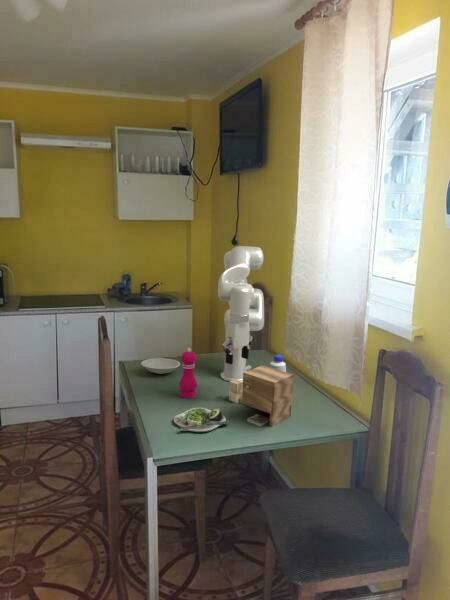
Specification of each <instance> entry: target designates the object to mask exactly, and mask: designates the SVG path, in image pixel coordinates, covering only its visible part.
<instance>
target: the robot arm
mask: <svg viewBox="0 0 450 600" xmlns="http://www.w3.org/2000/svg"><path fill="white" fill-rule="evenodd" d="M264 258H265V257H264V252H263V249H262V248H261V247H258V246H249V245H248V246H246V245H244V246H243V245H239V246H234V247H233V248H232V249H231V250H229V251H227V252H226V253H225V254H224V256H223V266H224V270H225V271H223V272H222V273H221V275H220V277H219V279H218V283H217V284H218V285H217V286H218V288H217V296H218V298H219V300H221V302H228V306H229V309H227V310H226V311H225V313H224V328H225V329H224V331H225V339H224V342H223V343H222V348H223V349H222V350H223V351H224V368H223V371H222V372H221V373H220V378H221V379H222V380H224V381H226V382H230V381H232V380H234V379H238V380H241V381H243V373H244V372H247V371H249V370H252V366H251V365H250V364H249V365H246V363H247V360H248V359H249V355H250V349H251V345H252V341H253V336H252V335H250V331H251V332H258V331H262V329H264V325H265V297H264V296H265V295H264V293H263V291H262V290H261V289H259V288H254V286H253V285H252V284H250V283H248V279H247V278H248V277H249V274H250V272H251V270H260V269H261V267H262V265H263V264H264Z"/></svg>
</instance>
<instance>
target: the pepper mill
mask: <svg viewBox="0 0 450 600" xmlns="http://www.w3.org/2000/svg"><path fill="white" fill-rule="evenodd" d="M180 360H181V363H182V366H181V367H182V369H183V372H182V375H181V378H180V380H179V382H178V383H179V384H178V387H179V389H180V390H179V396H180V397H181V398H183V399H192V398H195V397H196V389H197V387H198V384H197V383H198V382H197V379H196V377H195V374H194V369H195V367H196V366H195V365H196V364H195V363H196V361H197V355H196V354H195V352H194V351H192V348H190V347H188V348H186V351H185V352H183V353H181V357H180Z"/></svg>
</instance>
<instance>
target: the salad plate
mask: <svg viewBox="0 0 450 600" xmlns="http://www.w3.org/2000/svg"><path fill="white" fill-rule="evenodd" d="M186 418H187V419H186ZM184 419H186V420H187V424H186V423H183V421H184ZM230 422H231V421H230V420H227V418H226V417H225V415H223V413H222V410H221V409H220V408H218V407H216V408H213V409H212V410H211V409H208V408H206V407H193V408H190V409H187V410H186V411H183V412H182V413H179V414H177V415H175V416H174V418H173V423H174V424H175V425H176V426H178V428H179V430H180V431H184V432H185V431H188V432H192V433H193V432H194V433H207V432H211V431H212V430H215V429H217V428H220V427H222V426H224V425H226V424H227V425H228V423H230Z"/></svg>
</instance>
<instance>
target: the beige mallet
mask: <svg viewBox="0 0 450 600" xmlns="http://www.w3.org/2000/svg"><path fill="white" fill-rule="evenodd" d="M228 388H229V391H228V401H229V402H232V403H235V404H238V403H239V404H242V392H243V381H241V380H238V379H234V380H232V381H229V387H228ZM257 410H259V409H257ZM259 411H260V410H259ZM268 414H269V415H270V413H268Z"/></svg>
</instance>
